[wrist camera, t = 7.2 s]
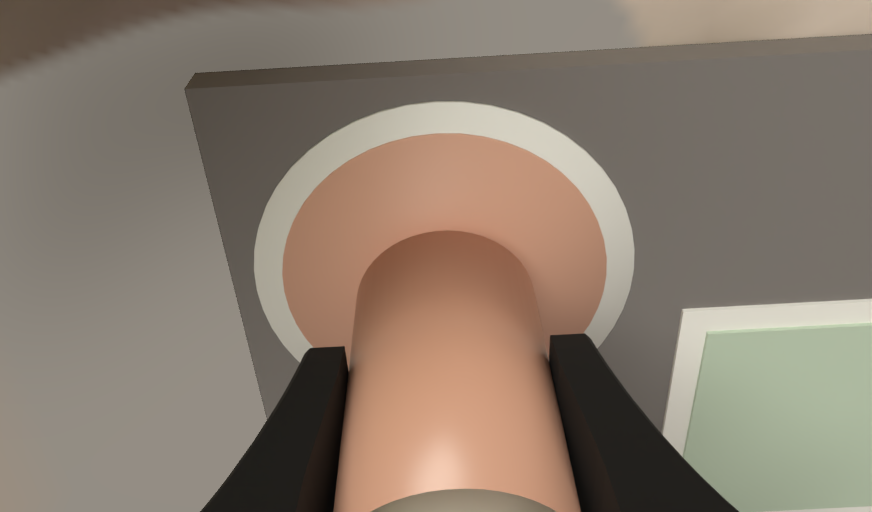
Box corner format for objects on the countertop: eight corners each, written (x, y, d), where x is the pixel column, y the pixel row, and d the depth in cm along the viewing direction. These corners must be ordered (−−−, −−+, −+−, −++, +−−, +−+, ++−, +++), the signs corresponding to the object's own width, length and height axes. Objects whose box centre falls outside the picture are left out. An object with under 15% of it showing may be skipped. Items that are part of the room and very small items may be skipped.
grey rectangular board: (923, 501, 22) (943, 531, 21) (305, 533, 22) (300, 563, 21) (1155, 17, 14) (1201, 34, 13) (194, 73, 14) (181, 93, 14)
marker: (537, 363, 16) (619, 789, 10) (371, 379, 16) (340, 808, 10) (531, 220, 14) (629, 636, 8) (342, 240, 14) (278, 662, 8)
